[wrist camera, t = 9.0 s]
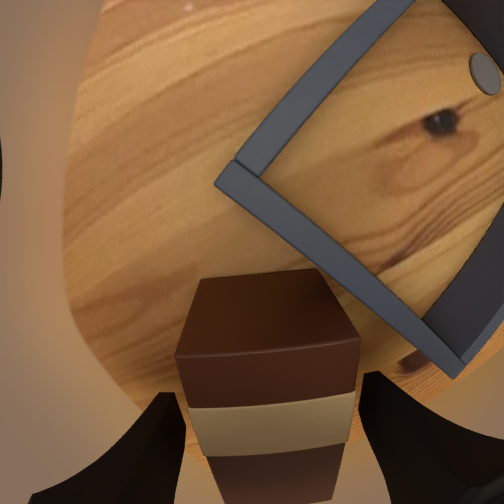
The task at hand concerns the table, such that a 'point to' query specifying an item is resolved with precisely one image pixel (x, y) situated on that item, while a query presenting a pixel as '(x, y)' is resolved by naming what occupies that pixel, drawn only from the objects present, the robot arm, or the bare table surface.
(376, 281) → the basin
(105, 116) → the table surface
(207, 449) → the brown tan banded block
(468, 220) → the table surface
